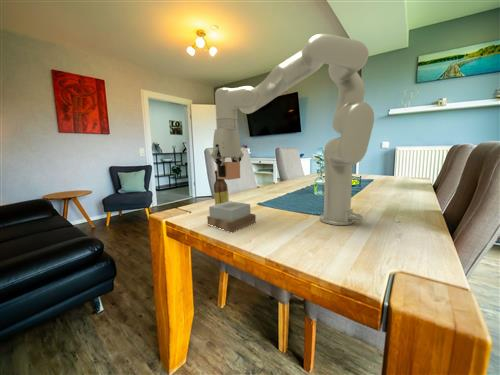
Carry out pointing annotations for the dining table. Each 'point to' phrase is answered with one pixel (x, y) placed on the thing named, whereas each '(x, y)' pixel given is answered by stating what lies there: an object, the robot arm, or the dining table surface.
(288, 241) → the dining table surface
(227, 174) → the terracotta cube
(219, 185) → the sauce bottle
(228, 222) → the walnut block
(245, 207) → the slate block
